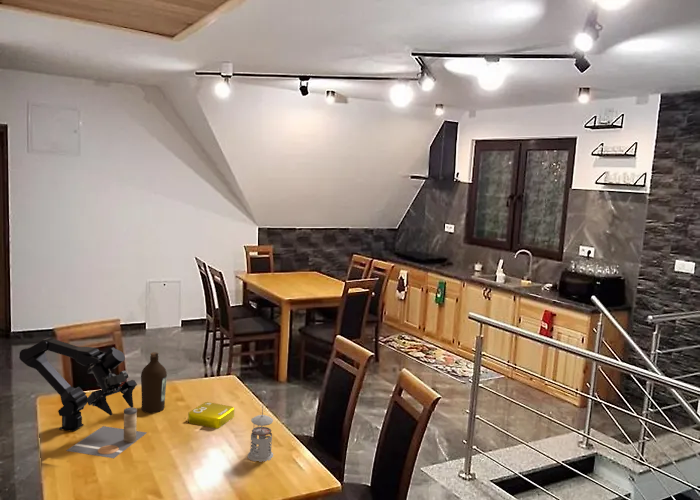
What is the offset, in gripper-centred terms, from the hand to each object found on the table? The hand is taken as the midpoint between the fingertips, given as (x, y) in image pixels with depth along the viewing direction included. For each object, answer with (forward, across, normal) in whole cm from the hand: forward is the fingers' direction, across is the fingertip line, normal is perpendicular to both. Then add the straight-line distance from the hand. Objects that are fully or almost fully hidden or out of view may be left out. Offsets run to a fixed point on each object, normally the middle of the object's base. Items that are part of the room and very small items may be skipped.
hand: (122, 411), depth 217 cm
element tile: (+17, +36, +1) cm, 39 cm away
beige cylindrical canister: (+11, 0, +4) cm, 11 cm away
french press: (+43, +24, -25) cm, 55 cm away
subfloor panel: (+8, -5, +9) cm, 13 cm away
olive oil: (-2, +28, +19) cm, 34 cm away
